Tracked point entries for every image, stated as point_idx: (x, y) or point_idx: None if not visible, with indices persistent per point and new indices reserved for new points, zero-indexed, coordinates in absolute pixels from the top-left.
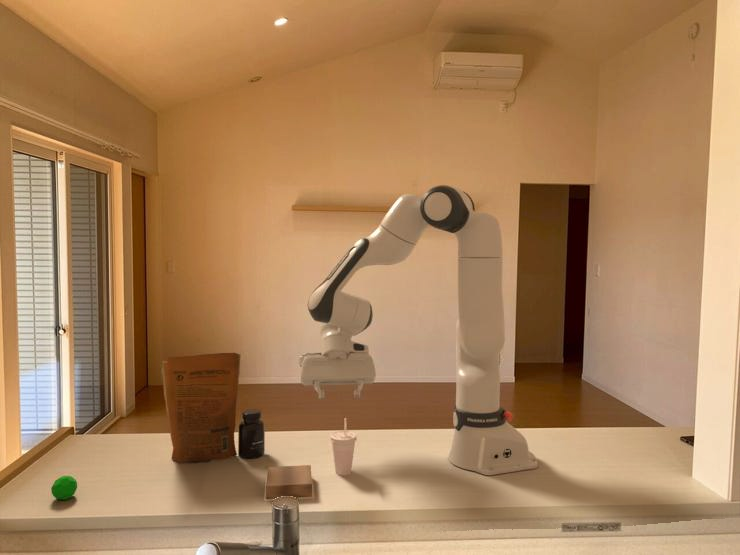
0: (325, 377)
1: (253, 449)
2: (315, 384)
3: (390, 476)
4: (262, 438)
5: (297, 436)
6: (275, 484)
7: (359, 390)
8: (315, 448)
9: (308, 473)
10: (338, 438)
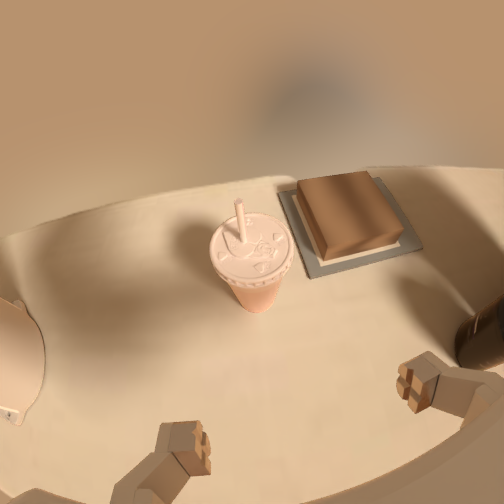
0: (475, 425)
1: (473, 316)
2: (490, 375)
3: (154, 294)
4: (478, 329)
5: None
6: (356, 175)
7: (159, 442)
8: (359, 435)
9: (318, 211)
10: (263, 222)
